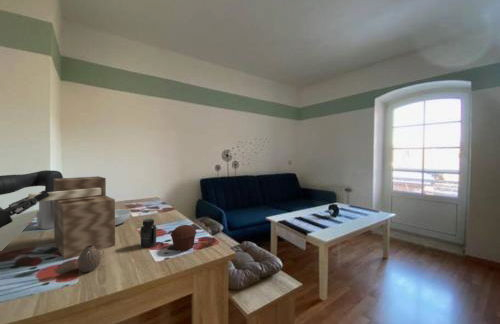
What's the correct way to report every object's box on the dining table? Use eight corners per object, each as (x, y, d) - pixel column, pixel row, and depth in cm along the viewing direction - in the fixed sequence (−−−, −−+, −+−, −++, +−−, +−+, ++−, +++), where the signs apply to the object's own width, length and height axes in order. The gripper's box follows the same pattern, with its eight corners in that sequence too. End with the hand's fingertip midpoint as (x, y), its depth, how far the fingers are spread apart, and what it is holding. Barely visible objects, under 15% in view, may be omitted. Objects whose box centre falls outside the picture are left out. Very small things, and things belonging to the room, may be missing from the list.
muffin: (189, 240, 103) (189, 220, 103) (201, 247, 95) (201, 226, 95) (166, 247, 95) (166, 226, 95) (176, 255, 87) (176, 232, 87)
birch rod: (29, 202, 78) (29, 194, 78) (28, 201, 80) (28, 193, 80) (101, 194, 95) (101, 188, 95) (99, 193, 97) (99, 187, 97)
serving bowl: (137, 222, 129) (137, 212, 128) (99, 233, 111) (99, 220, 111) (120, 217, 139) (120, 207, 139) (83, 225, 122) (83, 214, 121)
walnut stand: (63, 260, 82) (63, 184, 81) (54, 242, 98) (53, 178, 98) (115, 245, 96) (114, 180, 95) (99, 231, 112) (98, 176, 111)
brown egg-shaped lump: (86, 264, 79) (86, 242, 79) (105, 264, 79) (105, 242, 79) (72, 275, 72) (72, 250, 72) (92, 274, 72) (92, 250, 72)
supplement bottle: (159, 243, 99) (159, 218, 99) (148, 249, 93) (148, 223, 92) (148, 240, 101) (148, 217, 101) (137, 246, 95) (137, 221, 95)
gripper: (-24, 218, 65) (42, 187, 77) (-20, 210, 74) (38, 183, 86) (-5, 235, 68) (56, 202, 80) (-3, 225, 77) (51, 197, 89)
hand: (46, 192), depth 83 cm, fingers closed on birch rod, 3 cm apart
